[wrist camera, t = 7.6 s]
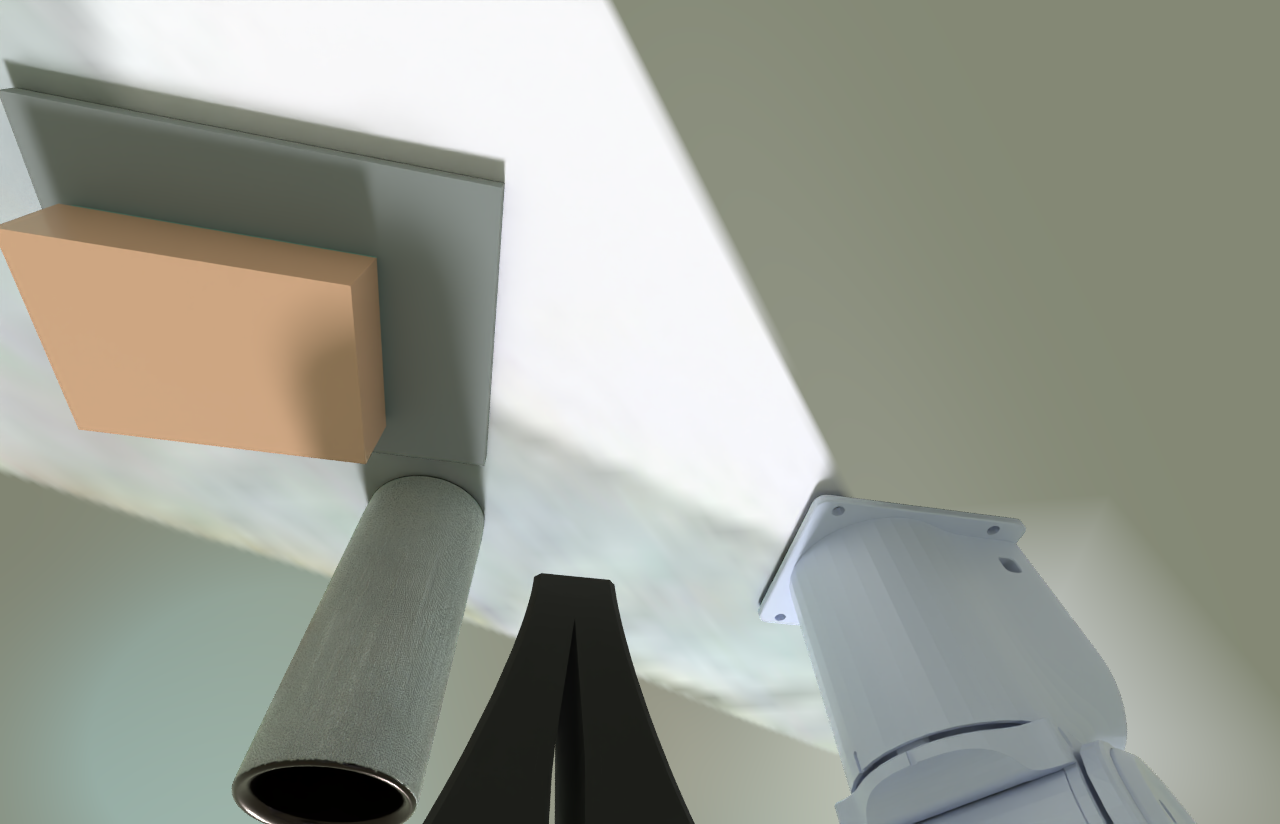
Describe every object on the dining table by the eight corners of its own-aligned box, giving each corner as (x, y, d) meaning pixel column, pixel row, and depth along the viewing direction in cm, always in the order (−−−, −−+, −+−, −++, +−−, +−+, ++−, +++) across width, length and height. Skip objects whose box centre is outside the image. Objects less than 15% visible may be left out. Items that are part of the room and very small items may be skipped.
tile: (350, 286, 15) (-9, 227, 14) (366, 464, 18) (79, 429, 17) (380, 254, 17) (66, 200, 15) (388, 420, 20) (132, 386, 19)
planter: (508, 527, 24) (452, 811, 16) (424, 567, 25) (330, 851, 17) (432, 455, 22) (319, 743, 13) (343, 504, 23) (187, 796, 14)
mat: (504, 183, 16) (501, 187, 16) (486, 457, 22) (483, 465, 21) (14, 87, 14) (-3, 90, 14) (131, 412, 20) (121, 420, 20)
